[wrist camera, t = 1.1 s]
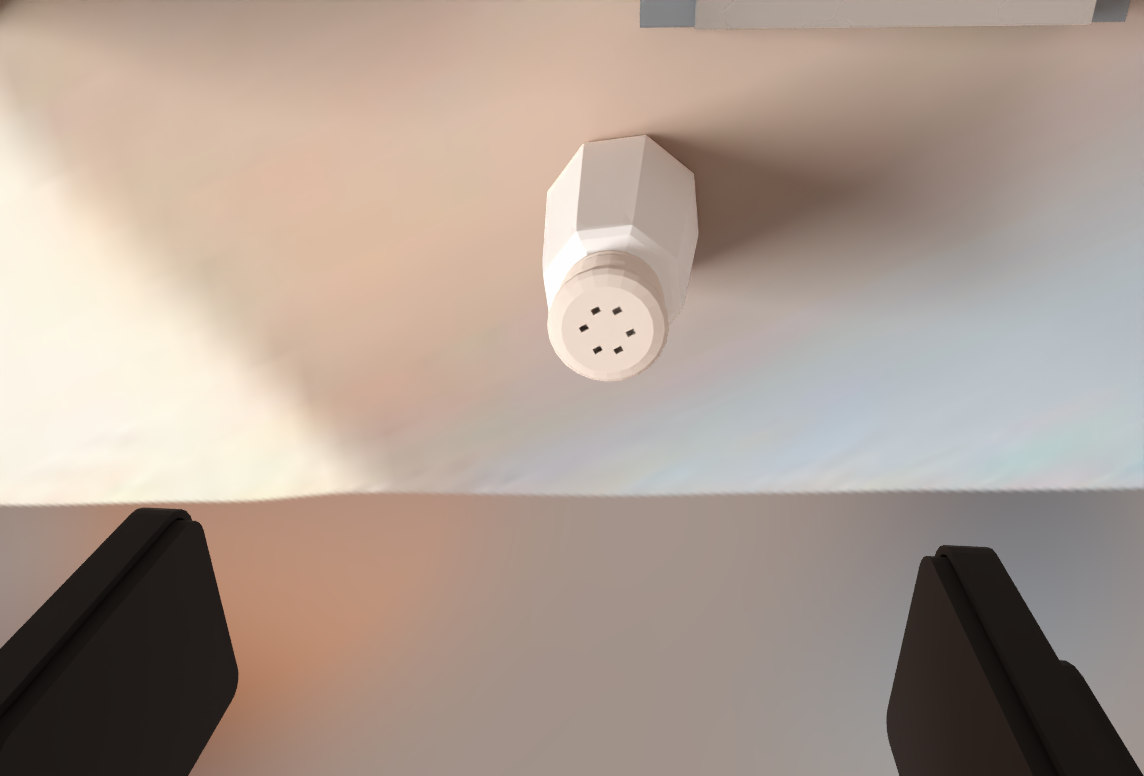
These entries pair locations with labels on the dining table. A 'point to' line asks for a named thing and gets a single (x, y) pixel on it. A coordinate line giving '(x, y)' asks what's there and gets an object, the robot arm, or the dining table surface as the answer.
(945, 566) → the robot arm
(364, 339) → the dining table surface
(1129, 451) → the dining table surface
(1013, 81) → the dining table surface
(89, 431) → the dining table surface
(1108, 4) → the scale base
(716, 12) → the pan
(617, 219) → the pepper shaker
